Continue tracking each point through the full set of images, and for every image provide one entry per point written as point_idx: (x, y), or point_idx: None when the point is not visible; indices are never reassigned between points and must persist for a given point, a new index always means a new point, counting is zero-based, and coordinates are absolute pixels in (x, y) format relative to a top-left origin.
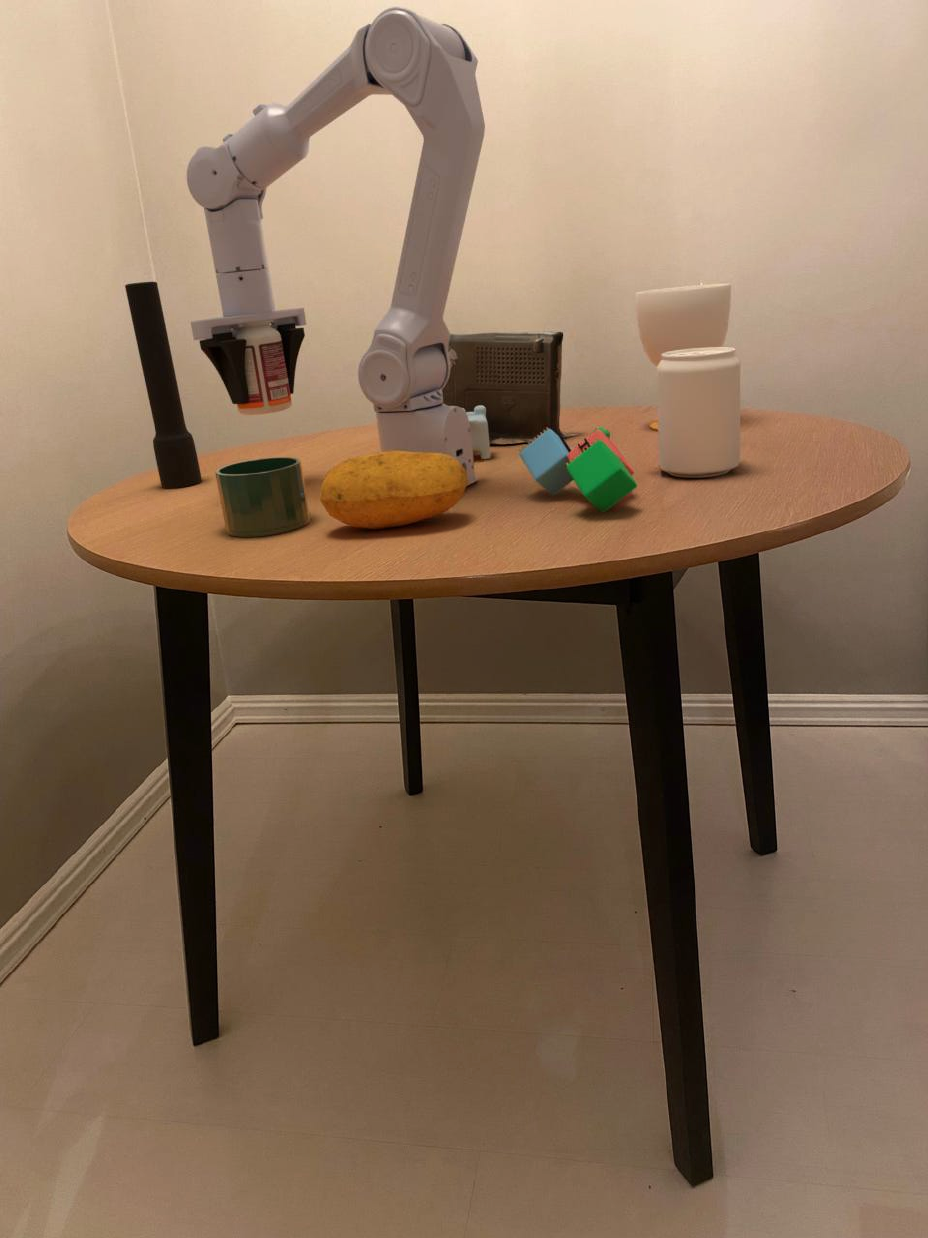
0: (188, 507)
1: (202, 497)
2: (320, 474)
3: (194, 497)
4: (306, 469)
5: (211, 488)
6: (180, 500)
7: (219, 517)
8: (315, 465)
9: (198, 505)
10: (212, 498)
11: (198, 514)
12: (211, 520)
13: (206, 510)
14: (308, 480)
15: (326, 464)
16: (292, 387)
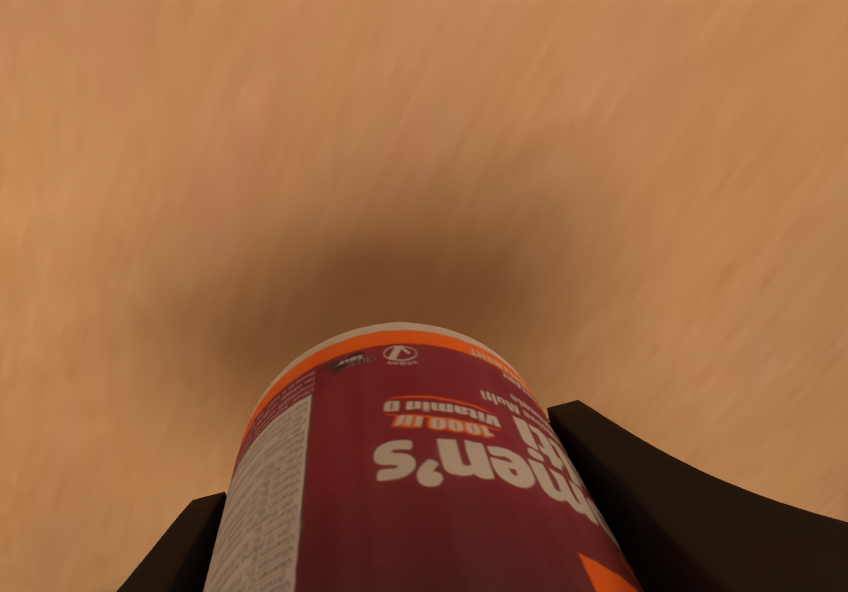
0: (22, 278)
1: (114, 161)
2: (578, 231)
3: (88, 126)
4: (617, 79)
5: (201, 18)
6: (26, 122)
7: (68, 499)
8: (684, 38)
9: (61, 282)
10: (138, 220)
11: (24, 409)
12: (37, 512)
13: (62, 380)
14: (497, 283)
15: (713, 70)
16: None
